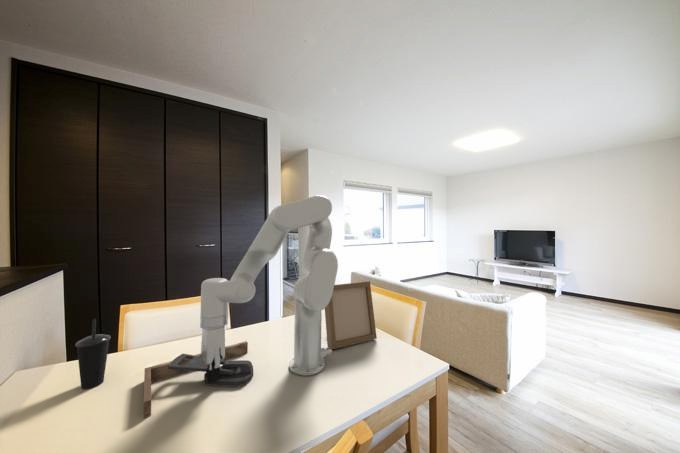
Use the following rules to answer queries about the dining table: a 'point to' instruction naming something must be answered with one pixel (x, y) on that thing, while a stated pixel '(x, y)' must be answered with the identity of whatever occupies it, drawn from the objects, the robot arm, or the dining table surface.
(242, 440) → the dining table surface
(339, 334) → the photo frame
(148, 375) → the wooden l-shaped bracket
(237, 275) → the robot arm
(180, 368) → the zipper pull
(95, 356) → the drinking cup
